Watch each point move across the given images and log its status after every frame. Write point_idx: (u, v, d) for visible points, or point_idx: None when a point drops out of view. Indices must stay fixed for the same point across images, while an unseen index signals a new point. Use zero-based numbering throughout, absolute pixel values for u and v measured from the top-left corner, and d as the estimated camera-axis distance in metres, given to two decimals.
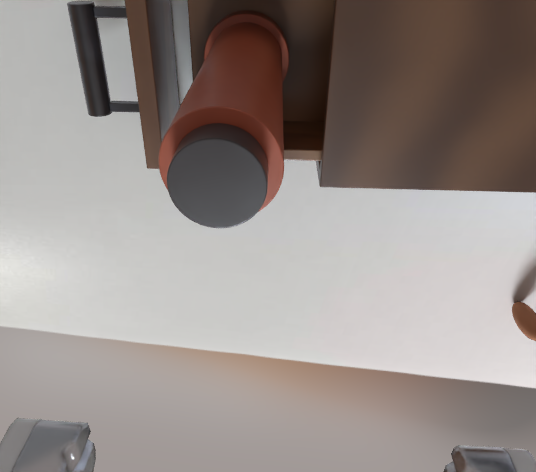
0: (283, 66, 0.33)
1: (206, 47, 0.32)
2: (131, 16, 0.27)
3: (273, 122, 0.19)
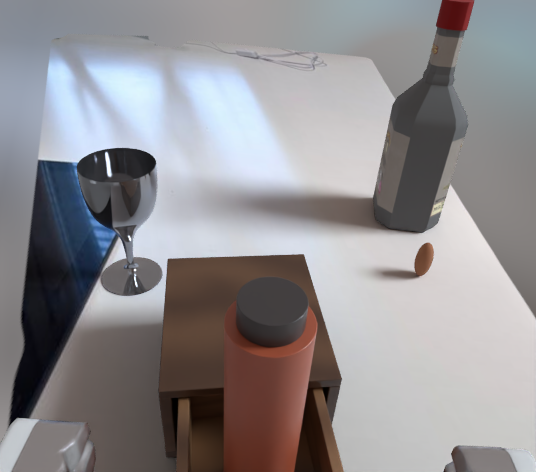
0: None
1: None
2: None
3: None
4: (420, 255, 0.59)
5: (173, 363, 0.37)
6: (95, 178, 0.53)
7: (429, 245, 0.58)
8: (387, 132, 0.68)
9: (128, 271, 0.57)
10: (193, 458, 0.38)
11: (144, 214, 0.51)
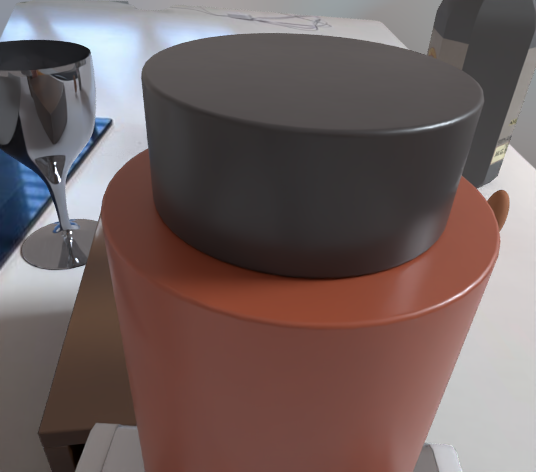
0: None
1: None
2: None
3: None
4: None
5: (82, 370, 0.18)
6: None
7: (504, 193, 0.40)
8: (429, 51, 0.50)
9: (61, 235, 0.38)
10: None
11: (73, 136, 0.32)
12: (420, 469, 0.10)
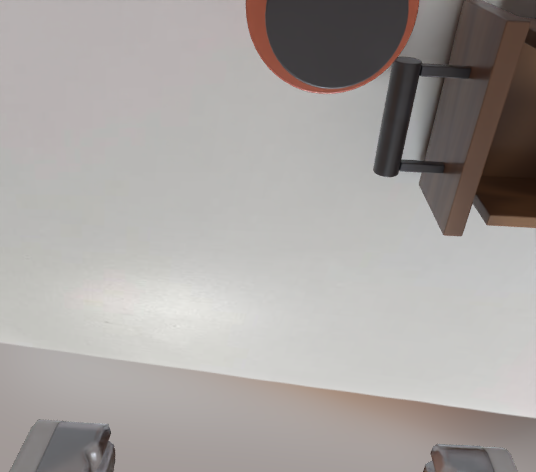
0: None
1: None
2: (494, 83, 0.25)
3: None
4: None
5: None
6: None
7: None
8: None
9: None
10: None
11: None
12: None
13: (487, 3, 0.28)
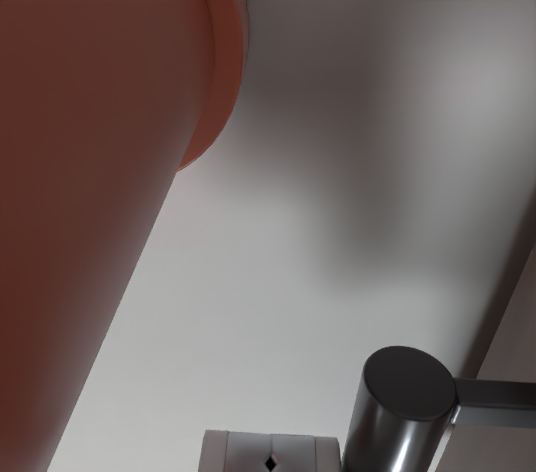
0: (222, 73, 0.09)
1: None
2: None
3: None
4: None
5: None
6: None
7: None
8: None
9: None
10: None
11: None
12: (300, 461, 0.10)
13: None
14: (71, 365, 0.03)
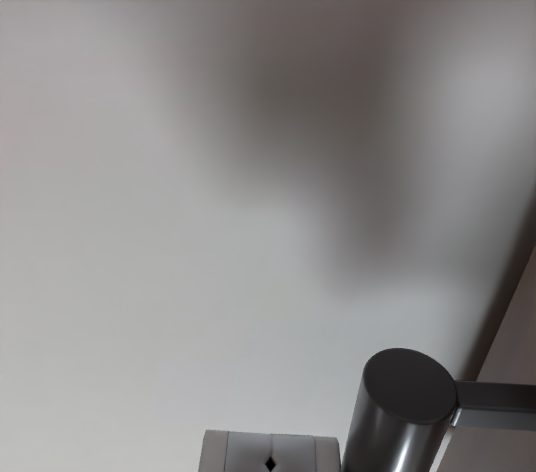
0: None
1: None
2: None
3: None
4: None
5: None
6: None
7: None
8: None
9: None
10: None
11: None
12: (300, 461, 0.10)
13: None
14: None
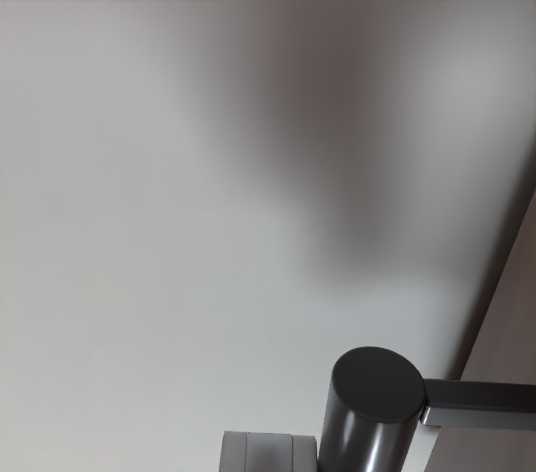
0: None
1: None
2: None
3: None
4: None
5: None
6: None
7: None
8: None
9: None
10: None
11: None
12: (276, 460, 0.10)
13: None
14: None
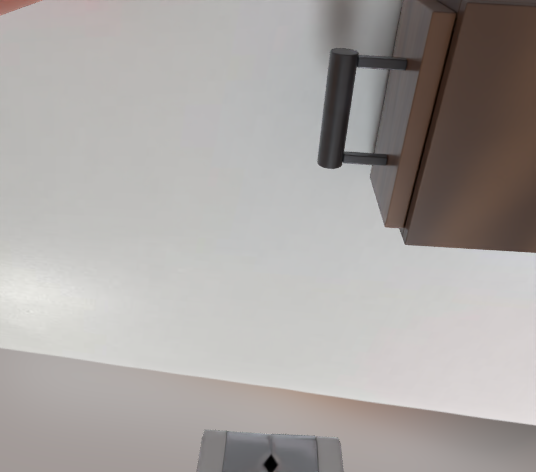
0: None
1: None
2: (424, 75, 0.25)
3: None
4: None
5: (515, 28, 0.23)
6: None
7: None
8: None
9: None
10: None
11: None
12: (301, 461, 0.10)
13: None
14: None
